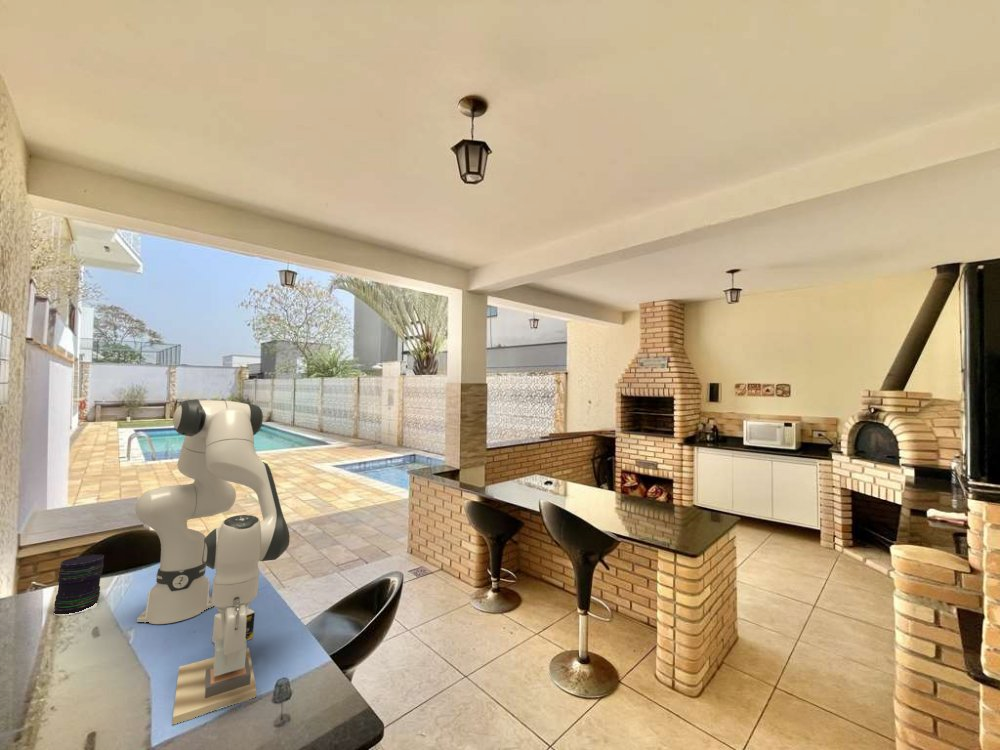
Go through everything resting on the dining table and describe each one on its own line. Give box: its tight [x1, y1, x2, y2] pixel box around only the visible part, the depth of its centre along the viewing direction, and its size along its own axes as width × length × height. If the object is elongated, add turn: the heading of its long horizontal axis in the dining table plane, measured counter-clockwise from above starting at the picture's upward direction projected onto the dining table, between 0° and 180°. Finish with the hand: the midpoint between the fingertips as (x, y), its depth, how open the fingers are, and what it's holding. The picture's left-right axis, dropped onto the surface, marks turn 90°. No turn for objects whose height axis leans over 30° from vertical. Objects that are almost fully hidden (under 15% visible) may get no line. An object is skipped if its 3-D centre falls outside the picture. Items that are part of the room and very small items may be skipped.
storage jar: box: [53, 553, 105, 614], centre depth 126 cm, size 10×10×15 cm
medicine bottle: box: [211, 606, 256, 645], centre depth 109 cm, size 7×7×12 cm
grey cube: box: [213, 638, 248, 677], centre depth 89 cm, size 6×6×5 cm
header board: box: [171, 647, 258, 726], centre depth 90 cm, size 20×14×7 cm
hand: (229, 656), depth 89 cm, fingers closed on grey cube, 6 cm apart
